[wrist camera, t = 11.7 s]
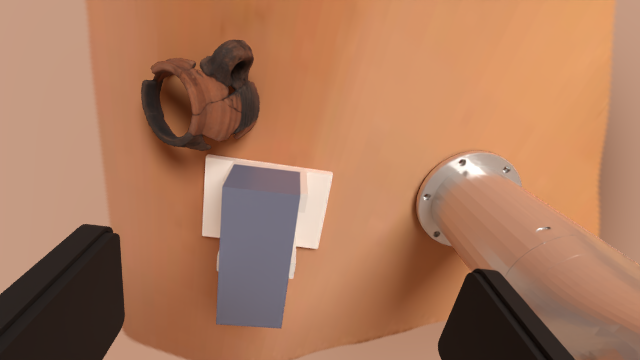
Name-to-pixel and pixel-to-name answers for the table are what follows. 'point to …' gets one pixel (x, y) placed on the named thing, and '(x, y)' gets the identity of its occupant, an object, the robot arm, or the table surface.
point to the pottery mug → (207, 96)
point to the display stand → (310, 204)
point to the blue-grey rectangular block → (256, 245)
